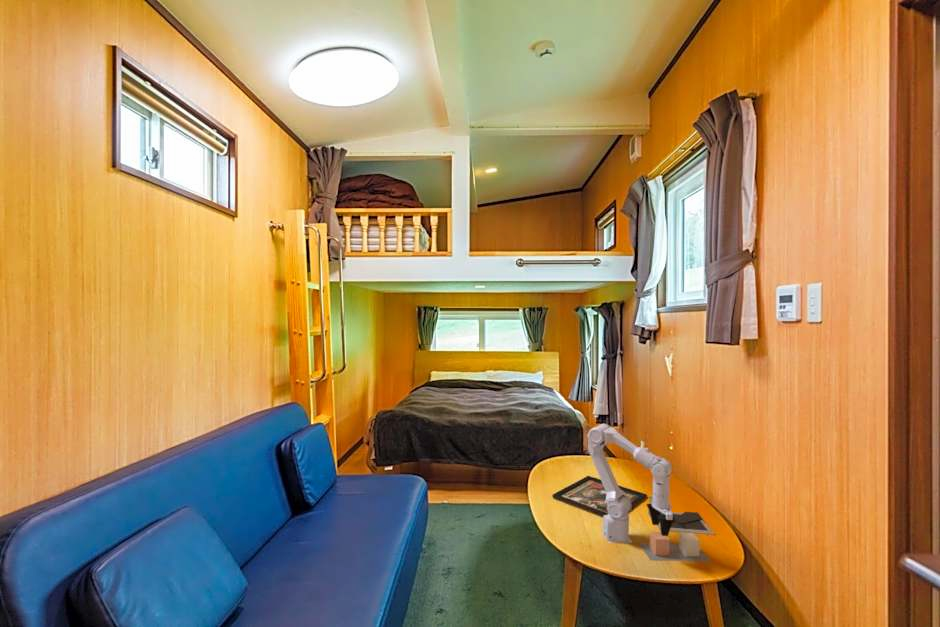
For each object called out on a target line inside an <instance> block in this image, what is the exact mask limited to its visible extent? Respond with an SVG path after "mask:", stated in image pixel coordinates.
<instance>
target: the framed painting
mask: <svg viewBox="0 0 940 627" xmlns="http://www.w3.org/2000/svg"><path fill="white" fill-rule="evenodd" d="M618 486H619V488H620V489H621V490H622V491H624V493H625V495H626V496H627V497H628V498H629V500H630V501H631V505H632V506H631V509H630V510H629V511H628V513H629V512H630V511H631V510H633V509H634V508H635V507H637V506H638V505H639V504H641V502H643V501H644V500H646V499H647V497H648V494H647V493H644V492H640V491H638V490H635V489H630V488H628V487H624V486H622V485H618ZM606 494H607V493H606V491H605V488H604V486H603V484H602V481H601V479H600V478H598V477H594V476H590V475H587V476H585V477H583V478H581V479H580V480H577V481H576V482H574V483H572V484H569V485H568V486H566V487H564V488H562V489H560V490H558V491H557V492H555V493H552V496H551V497H552V499H554V500H556V501H559V502H561V503H563V504H566V505H568V506H570V507H573V508H577V509H579V510H581V511H583V512H584V511H585V512H586V513H590V514H592V515H595V516H597V517H600V518H602V519H603V516H604V515H608V514H609V513H608V509H607V503H606Z"/></svg>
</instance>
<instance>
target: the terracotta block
mask: <svg viewBox="0 0 940 627" xmlns="http://www.w3.org/2000/svg"><path fill="white" fill-rule="evenodd" d="M670 541H671V539H670V538H669V537H668V536H662V534H661V531H658V532H657V531H649V544H650V549H651V550H652V552H653V553H654V554H655V556H669V544H671V543H670Z"/></svg>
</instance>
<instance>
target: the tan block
mask: <svg viewBox="0 0 940 627" xmlns="http://www.w3.org/2000/svg"><path fill="white" fill-rule="evenodd" d="M700 541H701V540H700V538H698V537H697V536H696V535H695V533H685V532H678V544H679V549H680V550H681V552H682V553H683V554H684V555H685V556H699V548H700V543H701V542H700Z"/></svg>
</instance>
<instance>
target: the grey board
mask: <svg viewBox="0 0 940 627" xmlns="http://www.w3.org/2000/svg"><path fill="white" fill-rule="evenodd" d="M638 545H639V547H641V549H642V550H643V552H644V553H645V555H646V556H647V557H648V558H649V561H660V562H663V561H664V562H666V561H667V562H711V563H712V560H711V559H710V558H709V557H708V555H707V554H706V553H705V552H704V551H703V550H702V549H701V547H699V556H685V555H684V554H683V553H682V552H681V550H680V549H679V543H670V544H669V556H655V554H654V553H653V552H652V550H651V549H650V543H642V542H641V543H640V542H639V543H638Z"/></svg>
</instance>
